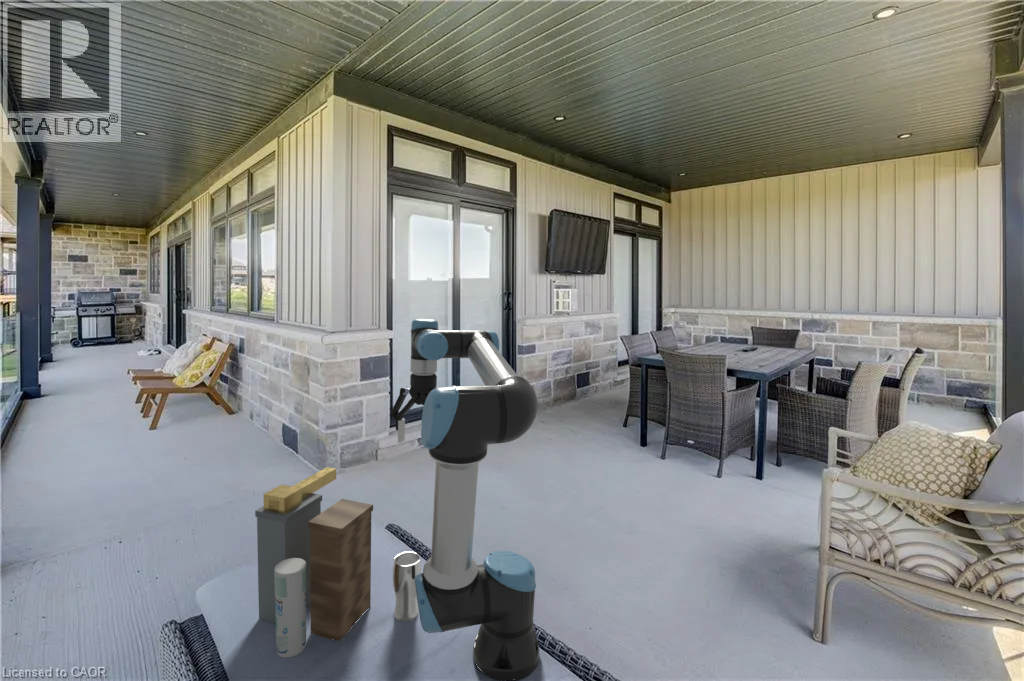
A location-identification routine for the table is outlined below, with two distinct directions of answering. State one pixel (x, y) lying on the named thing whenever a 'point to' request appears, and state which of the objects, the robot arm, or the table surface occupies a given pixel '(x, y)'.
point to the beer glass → (406, 585)
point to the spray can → (290, 606)
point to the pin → (296, 491)
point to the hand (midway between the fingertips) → (422, 444)
